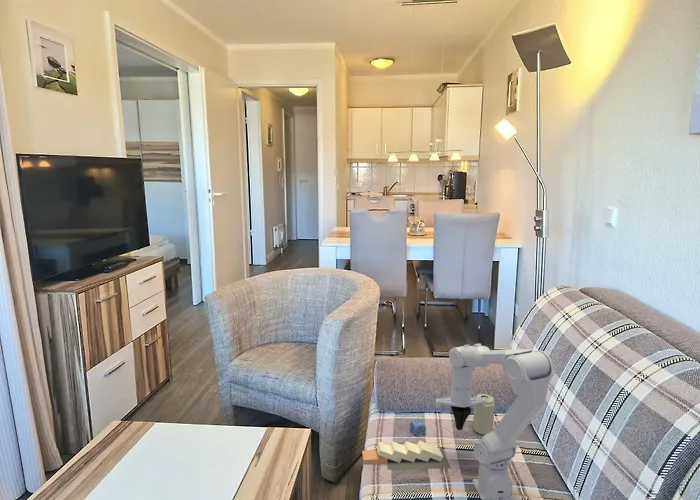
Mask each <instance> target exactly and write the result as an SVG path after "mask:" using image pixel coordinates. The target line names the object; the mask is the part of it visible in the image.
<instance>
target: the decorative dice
mask: <svg viewBox="0 0 700 500" xmlns="http://www.w3.org/2000/svg"><path fill="white" fill-rule="evenodd" d="M409 429H410V433H412V435H414V436H424V435H425V433H426V430H427V426H426V423H425V421H424V420H423V419H421V418H413V419H412V420H411V421H410V423H409Z"/></svg>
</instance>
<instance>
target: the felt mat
mask: <svg viewBox="0 0 700 500" xmlns="http://www.w3.org/2000/svg"><path fill="white" fill-rule="evenodd" d="M436 447H437V448H439V449H440V451H441V453H442V455H443V459H442V461H441V462H440V461H437V460H435V459H432V458H430V459H429V461H428V462H426V461H423V460H420V459H417V458H416V459H415V461H414V463H413V462H411V461H408V460H405V459H401V461H400V463H398V462H395V461H393V460H390V459H387V463H386V466H387V469H388V470H389V471H393V470H396V471H397V470H427V469H431V470H432V469H451V468H452V467H451V465H450V462H449V460H448V457H447V455H446V453H445V451H444V449H443V446H436Z"/></svg>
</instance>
